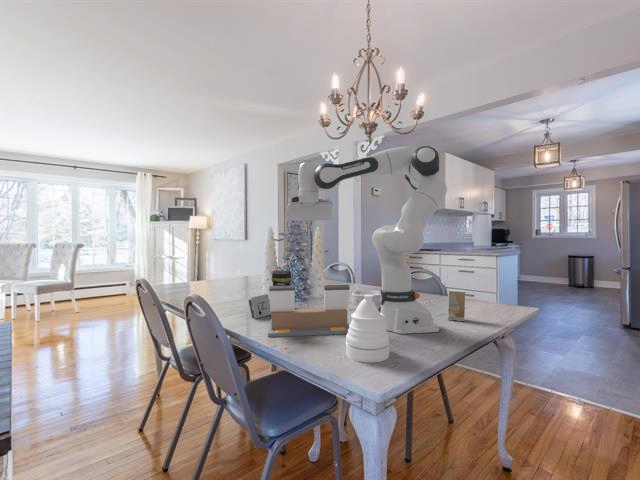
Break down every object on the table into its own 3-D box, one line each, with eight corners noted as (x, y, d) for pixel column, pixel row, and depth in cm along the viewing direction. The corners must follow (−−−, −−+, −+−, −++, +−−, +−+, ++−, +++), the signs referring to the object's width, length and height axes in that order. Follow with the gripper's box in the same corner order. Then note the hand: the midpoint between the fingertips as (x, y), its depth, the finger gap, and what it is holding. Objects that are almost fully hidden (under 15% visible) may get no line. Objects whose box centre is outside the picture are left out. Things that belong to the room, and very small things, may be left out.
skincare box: (448, 320, 135) (448, 290, 135) (448, 317, 139) (448, 288, 139) (465, 322, 133) (465, 291, 132) (464, 319, 137) (464, 289, 136)
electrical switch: (255, 319, 140) (254, 297, 140) (248, 318, 143) (246, 297, 144) (272, 315, 147) (270, 294, 148) (264, 314, 151) (262, 294, 151)
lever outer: (294, 308, 125) (294, 285, 122) (295, 310, 123) (294, 287, 120) (270, 308, 124) (269, 286, 121) (269, 311, 122) (269, 288, 119)
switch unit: (345, 322, 133) (345, 305, 133) (352, 333, 119) (352, 313, 119) (270, 325, 130) (270, 307, 130) (268, 337, 116) (267, 316, 116)
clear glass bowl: (351, 305, 165) (351, 289, 165) (382, 305, 163) (382, 289, 163) (351, 312, 150) (351, 295, 150) (385, 313, 148) (385, 295, 148)
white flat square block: (347, 306, 126) (348, 284, 123) (348, 309, 125) (349, 287, 121) (323, 307, 126) (324, 285, 122) (323, 310, 124) (324, 288, 120)
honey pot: (395, 361, 93) (394, 297, 93) (349, 363, 92) (349, 299, 92) (382, 345, 106) (382, 289, 106) (342, 347, 105) (342, 290, 105)
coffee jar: (269, 310, 156) (269, 271, 156) (274, 306, 164) (273, 269, 164) (290, 310, 155) (289, 271, 155) (293, 306, 163) (293, 269, 163)
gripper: (331, 199, 148) (331, 230, 148) (285, 200, 146) (285, 231, 146) (333, 198, 141) (333, 230, 142) (285, 198, 139) (285, 231, 140)
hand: (309, 231), depth 144 cm, fingers closed
